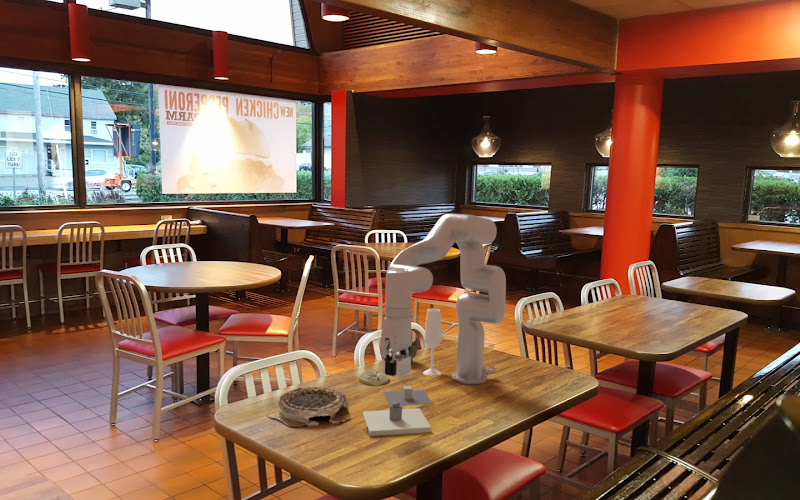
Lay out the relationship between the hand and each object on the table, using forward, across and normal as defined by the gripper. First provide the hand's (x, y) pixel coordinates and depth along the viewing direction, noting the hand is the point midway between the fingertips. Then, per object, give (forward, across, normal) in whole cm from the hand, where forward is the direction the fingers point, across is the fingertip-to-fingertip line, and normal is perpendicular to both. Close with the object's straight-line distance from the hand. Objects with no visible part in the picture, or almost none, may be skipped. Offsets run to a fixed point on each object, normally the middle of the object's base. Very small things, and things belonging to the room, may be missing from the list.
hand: (396, 371), depth 180 cm
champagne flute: (+16, -46, -14) cm, 50 cm away
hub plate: (+16, 0, 0) cm, 16 cm away
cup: (+16, -51, -28) cm, 61 cm away
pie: (+17, +6, -27) cm, 32 cm away
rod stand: (+16, -17, -6) cm, 24 cm away
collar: (+1, 0, 0) cm, 1 cm away
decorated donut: (+17, -23, -25) cm, 38 cm away
